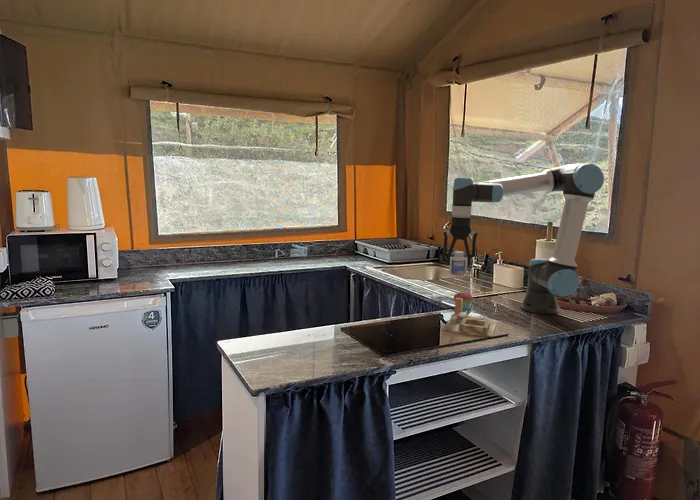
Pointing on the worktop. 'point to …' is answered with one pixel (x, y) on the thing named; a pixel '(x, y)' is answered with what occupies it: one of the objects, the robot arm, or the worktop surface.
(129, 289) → the worktop surface
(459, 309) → the lock bar
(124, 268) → the worktop surface
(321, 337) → the worktop surface
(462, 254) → the pill bottle
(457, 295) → the cupcake
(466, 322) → the mount
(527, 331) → the worktop surface
